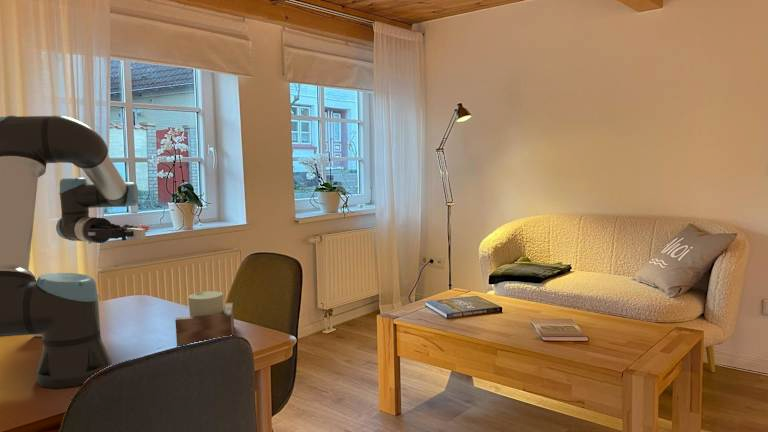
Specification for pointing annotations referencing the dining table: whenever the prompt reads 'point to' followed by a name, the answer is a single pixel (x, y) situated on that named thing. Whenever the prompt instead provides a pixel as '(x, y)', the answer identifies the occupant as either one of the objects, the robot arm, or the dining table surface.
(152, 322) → the dining table surface
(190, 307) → the can
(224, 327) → the v stop
